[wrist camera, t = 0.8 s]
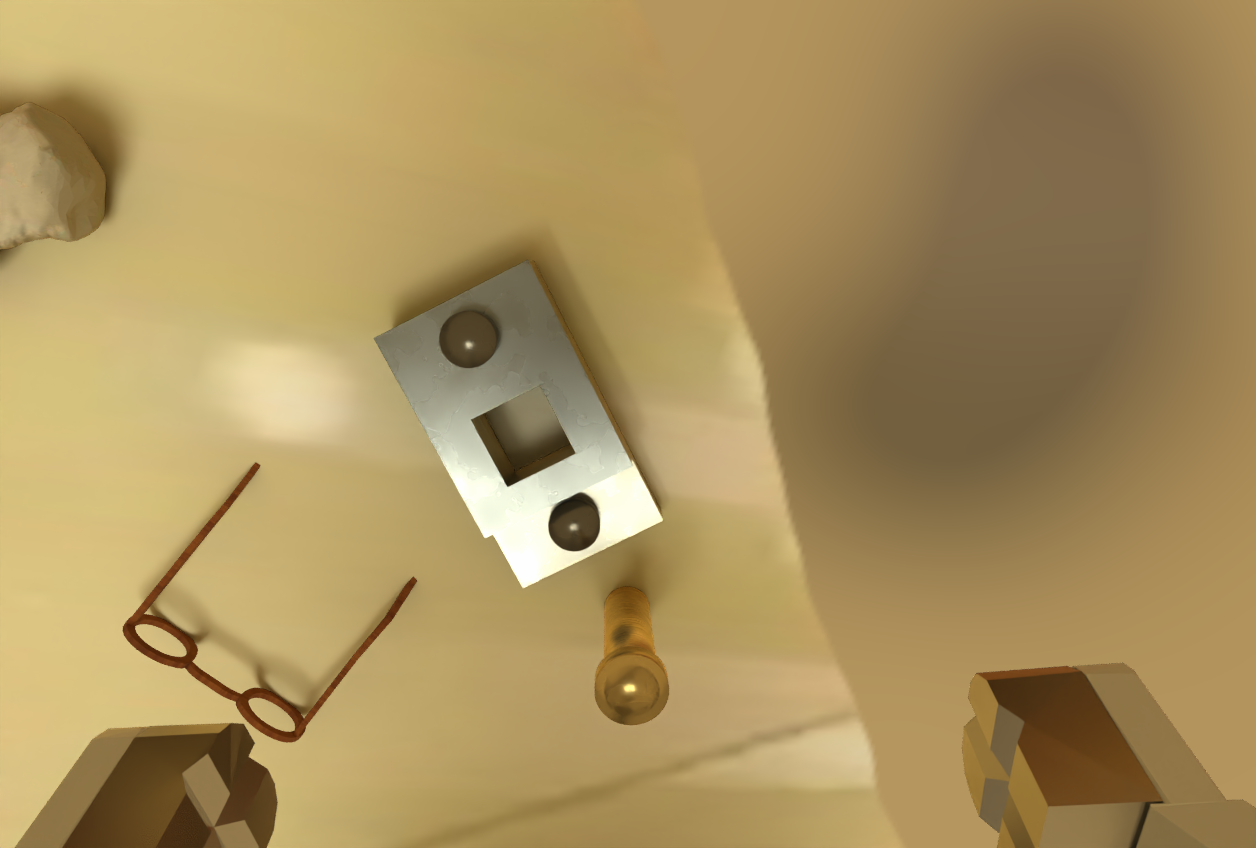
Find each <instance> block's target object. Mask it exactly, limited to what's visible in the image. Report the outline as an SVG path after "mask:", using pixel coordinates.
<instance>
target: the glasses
mask: <svg viewBox="0 0 1256 848" xmlns="http://www.w3.org/2000/svg"><path fill="white" fill-rule="evenodd" d="M259 467H260V465H259V464H257V463H255V464H254V465H253V467H252V468H251V469H250V470H249V472H248V473H247V474H246V476H245V477H244V478H243V480H242V481H241V482H240V484H239V485H238V486H237V487H236V489H235V490H234V491H233V493H232V494H231V495H230V497H229V498H228V499H227V501H226V502H225V503H224V504H223V505H222V507H221V508H220V509H219V510H218V511H217V512H216V514H215V515H214V516H213V517H212V518H211V519H210V521H209V522H208V523H207V524H206V525H205V527H204V528H203V529H202V530H201V531H200V533H199V534H198V535H197V536H196V537H195V539H194V540H193V541H192V542H191V544H190V545H189V546H188V547H187V549H186V550H185V551H184V552H183V554H182V555H181V556H180V557H179V559H178V560H177V561H176V562H175V564H174V565H173V566H172V567H171V568H170V570H169V571H168V572H167V573H166V575H165V576H164V577H163V578H162V580H161V581H160V582H159V583H158V585H157V586H156V587H155V588H154V590H153V591H152V592H151V593H150V595H149V596H148V597H147V598H146V600H145V601H144V602H143V603H142V605H141V606H140V607H139V608H138V610H137V611H136V612H135V613H134V615H133V616H132V617H130V618H129V619H128V620H127V622H126V623H125V624H124V626H123V633H124V636H125V637H126V639H127V640H128V641H129V642H130V644H131V645H132V646H134V647H135V648H136V649H137V650H138V651H140V652H141V653H143V654H144V655H146V656H147V657H149V658H151V659H153V660H155V661H157V662H159V663H162V664H164V665H168V666H171V667H175V668H186V669H187V671H188V672H189V673H190V674H191V675H192V676H193V677H195V678H196V679H197V680H199V681H200V682H202V683H203V684H205V685H206V686H208V687H209V688H211V689H212V690H214V691H215V692H217V693H218V694H220V695H221V696H223V697H225V698H227V699H230V700H233V701H236V706H237V708H238V710H239V712H240V713H241V714H242V716H243V717H244V718H245V719H246V720H247V722H249V723H250V724H251V725H252V726H253V727H254V728H256V729H257V730H259V731H260V732H262V733H263V734H265V735H267V736H269V737H271V738H273V739H275V740H278V741H282V742H295V741H297V740H298V739H299V738H300V737H301V736H302V735H303V733H304V732H305V729H306V725H307V724H308V723H309V722H310V720H311V719H312V718H313V716H314V715H315V714H316V713H317V711H318V710H319V709H320V707H321V706H322V705H323V704H324V702H325V701H326V700H327V698H328V697H329V696H330V695H331V693H332V692H333V691H334V689H335V688H336V687H337V685H338V684H339V683H340V682H341V680H342V679H343V678H344V676H345V675H346V674H347V673H348V671H349V670H350V669H351V667H352V666H353V665H354V664H355V662H356V661H357V660H358V658H359V657H360V656H361V655H362V654H363V653H364V652H365V650H366V649H367V648H368V647H369V646H370V645H371V644H372V642H373V641H374V640H375V639H376V638H377V637H378V636H379V634H380V633H381V632H382V631H383V630H384V629H385V628H386V626H387V625H388V624H389V623H390V622H391V621H392V619H393V618H394V616H395V615H396V613H397V612H398V610H399V608H400V607H401V605H402V604H403V602H404V601H405V599H406V597H407V596H408V594H409V593H410V591H411V590H412V588H413V586H414V585H415V583H416V582H417V580H416V579H415V578H414V577H413V578H412V579H411V580H410V581H409V582H408V583H407V584H406V585H405V587H404V588H403V590H402V592H401V593H400V595H399V596H398V598H397V599H396V601H395V602H394V604H393V605H392V607H391V609H390V610H389V612H388V613H387V615H386V616H385V618H384V619H383V620H382V621H381V623H380V624H379V625H378V626H377V627H376V629H375V630H374V631H373V632H372V633H371V635H370V636H369V637H368V638H367V639H366V641H365V642H364V643H363V644H362V645H361V647H360V648H359V649H358V650H357V651H356V653H355V654H354V655H353V656H352V658H351V659H350V660H349V662H348V663H347V664H346V665H345V667H344V668H343V669H342V671H341V672H340V673H339V674H338V676H337V677H336V678H335V680H334V681H333V682H332V683H331V685H330V686H329V687H328V689H327V690H326V691H325V693H324V694H323V695H322V696H321V698H320V699H319V700H318V702H317V703H316V704H315V705H314V707H313V708H312V709H311V711H310V712H309V713H308V714H307V716H306V717H305V718H303V716H302V715H301V714H300V712H299V711H298V710H297V709H296V708H295V707H293V706H292V705H290V704H289V703H287V702H286V701H284V700H283V699H281V698H280V697H278V696H277V695H275V694H274V693H272V692H271V691H268V690H265V689H262V688H252V689H249V690H247V691H245V692H244V693H242V694H240V693H237V692H235V691H233V690H231V689H230V688H228V687H226V686H225V685H223V684H222V683H220V682H219V681H217V680H216V679H214V678H213V677H211V676H210V675H208V674H207V673H205V672H204V671H203V670H201V669H200V668H199V667H198V666H196V665H195V664H194V663H193V662H192V661H193V660H194V659H195V657H196V655H197V652H198V648H197V645H196V644H195V642H194V641H193V640H192V639H191V638H190V637H189V636H188V635H186V634H185V633H183V632H182V631H180V630H179V629H177V628H176V627H174V626H173V625H171V624H170V623H168V622H167V621H165V620H164V619H161V618H159V617H156V616H153V615H147V614H144V613H145V612H146V611H147V609H148V608H149V607H150V606H151V604H152V603H153V602H154V601H155V599H156V598H157V597H158V596H159V594H160V593H161V592H162V591H163V589H164V588H165V587H166V586H167V584H168V583H169V582H170V581H171V580H172V578H173V577H174V576H175V575H176V573H177V572H178V571H179V570H180V568H181V567H182V566H183V565H184V563H185V562H186V561H187V560H188V558H189V557H190V556H191V555H192V553H193V552H194V551H195V550H196V548H197V547H198V546H199V545H200V543H201V542H202V541H203V540H204V538H205V537H206V536H207V535H208V533H209V532H210V531H211V530H212V528H213V527H214V526H215V525H216V523H217V522H218V521H219V520H220V519H221V517H222V516H223V515H224V514H225V512H226V511H227V510H228V509H229V508H230V506H231V505H232V504H233V502H234V501H235V500H236V498H237V497H238V496H239V494H240V493H241V492H242V490H243V489H244V488H245V486H246V485H247V484H248V482H249V481H250V480H251V479H252V477H253V476H254V474H255V473H256V472H257V470H258V469H259ZM139 624H149V625H153V626H156V627H159V628H161V629H163V630H165V631H167V632H169V633H170V634H172V635H173V636H174V637H176V638H177V639H178V640H179V641H180V642H181V643H182V644H183V645H184V646H185V648H186V651H187V654H186V656H184V657H174V656H170V655H167V654H164V653H162V652H160V651H158V650H156V649H154V648H153V647H151V646H150V645H148V644H147V643H145V642H144V641H143V640H142V639H141V638H140V637H139V636H138V634H137V633H136V630H135V626H136V625H139ZM252 698H262V699H266V700H268V701H270V702H272V703H274V704H276V705H277V706H279V707H280V708H282V709H283V710H284V711H285V712H286V713H288V715H289V716H290V717H291V718H292V719H293V721H294V723H295V730H294V731H292V732H285V731H281V730H278V729H275V728H273V727H271V726H270V725H268V724H266V723H265V722H264V721H262V720H261V719H260V718H259V717H257V716H256V715H255V713H254V712H253V711H252V710H251V708H250V706H249V703H248V700H249V699H252Z"/></svg>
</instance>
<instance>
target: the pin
mask: <svg viewBox="0 0 1256 848" xmlns="http://www.w3.org/2000/svg"><path fill="white" fill-rule="evenodd" d="M668 696H669V685H668V678H667V672H666V669H665V666H664V664H663V663H662V661H661V660H660V659H659V657H658V656H656V655H655V648H654V640H653V633H652V625H651V617H650V609H649V602H648V600H647V598H646V596H645V595H644V593H642V592H641V591H640V590H638V589H636V588H634V587H621V588H618V589H616V590H614V591H613V592H612V593H610V595H609V596H608V597H607V599H606V602H605V612H604V659H603V660H602V661H601V662H600V664H599V666H598V668H597V671H596V675H595V699H596V702H597V704H598V706H599V708H600V710H601V711H602V712H603V713H604V714H605V715H606V716H607V717H608V718H610V719H611V720H613V721H615V722H617V723H620V724H624V725H638V724H642V723H645V722H648V721H650V720H652V719H653V718H655V717H656V716H657V715H658V714H659V713H660V712H661V711H662V710H663V708H664V707H665V705H666V703H667V700H668Z"/></svg>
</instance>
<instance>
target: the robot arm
mask: <svg viewBox="0 0 1256 848" xmlns="http://www.w3.org/2000/svg"><path fill="white" fill-rule="evenodd" d="M968 699H969V701H970V704H971V706H972V708H973V711H974V713H975V715H976V716H975V717H974V718H973V719H971V720H970V721H969V722H968V723H967V724H966V725H965V726H964V731H963V741H962V753H963V762H964V771H965V776H966V779H967V783H968V787H969V791H970V794H971V797H972V799H973V802H974V805H975V807H976V810H977V813H978V815H979V817H980V818H981V819H983V820H984V821H985V822H986V823H987V824H988V825H990V826H991V827H992V828H993V829H995V830H996V831H997V832H998V833H999V840H998V845H997V848H1256V808H1255V807H1254V806H1252V805H1251V804H1249V803H1248V802H1246V801H1244V800H1226V799H1225V797H1224V796H1223V794H1222V793H1221V792H1220V790H1219V789H1218V787H1217V786H1216V785H1215V783H1214V782H1213V780H1212V779H1211V777H1210V776H1209V775H1208V773H1207V772H1206V770H1205V769H1204V768H1203V766H1202V765H1201V763H1200V762H1199V761H1198V759H1197V758H1196V756H1195V755H1194V754H1193V752H1192V751H1191V749H1190V748H1189V747H1188V745H1187V744H1186V742H1185V741H1184V740H1183V738H1182V737H1181V736H1180V734H1179V733H1178V731H1177V730H1176V728H1175V727H1174V726H1173V724H1172V723H1171V721H1170V720H1169V719H1168V717H1167V716H1166V714H1165V713H1164V712H1163V710H1162V709H1161V708H1160V706H1159V705H1158V703H1157V702H1156V700H1155V699H1154V698H1153V696H1152V695H1151V694H1150V692H1149V691H1148V689H1147V688H1146V686H1145V685H1144V684H1143V682H1142V681H1141V679H1140V678H1139V677H1138V675H1137V674H1136V672H1135V671H1134V670H1133V669H1132V668H1130V667H1129V666H1127V665H1126V664H1124V663H1111V664H1097V665H1083V666H1073V667H1068V666H1060V667H1048V668H1035V669H1022V670H1009V671H996V672H983V673H976V674H975V676H974V677H973V678H972V680H971V682H970V688H969V695H968ZM254 744H255V743H254V741H253V739H252V737H251V736H250V734H249V732H248V730H247V729H246V727H245V725H244V724H237V723H222V724H196V725H169V726H149V727H132V728H111V729H107V730H106V731H104V732H103V733H101V734H100V735H98V736H97V737H95V738H94V739H92V741H91V742H90V743H89V745H88V746H87V747H86V749H85V750H84V752H83V753H82V754H81V756H80V757H79V759H78V760H77V761H76V763H75V764H74V766H73V767H72V768H71V770H70V771H69V773H68V774H67V775H66V777H65V778H64V780H63V781H62V782H61V784H60V785H59V787H58V788H57V789H56V791H55V792H54V794H53V795H52V796H51V798H50V799H49V801H48V802H47V803H46V805H45V806H44V808H43V809H42V810H41V812H40V813H39V815H38V816H37V817H36V819H35V820H34V822H33V823H32V824H31V826H30V827H29V828H28V830H27V831H26V833H25V834H24V835H23V837H22V838H21V840H20V841H19V842H18V844H17V845H16V847H15V848H267V846H268V843H269V841H270V838H271V836H272V833H273V831H274V824H275V817H276V810H277V803H278V802H277V796H276V789H275V783H274V781H273V779H272V777H271V775H270V773H269V771H268V769H267V768H265V767H264V766H262V765H261V764H259V763H257V762H256V761H254V760H253V759H251V758H250V757H248V756H249V754H250V752H251V750H252V748H253V746H254Z"/></svg>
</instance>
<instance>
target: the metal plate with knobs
mask: <svg viewBox="0 0 1256 848" xmlns="http://www.w3.org/2000/svg"><path fill="white" fill-rule="evenodd" d="M374 340H375V341H376V343H377V345H378V347H379V349H380V350H381V352H382V354H383V356H384V358H385V359H386V361H387V363H388V365H389V367H390V368H391V370H392V372H393V374H394V376H395V377H396V379H397V381H398V383H399V385H400V386H401V388H402V390H403V392H404V394H405V395H406V397H407V399H408V401H409V403H410V404H411V406H412V408H413V410H414V412H415V413H416V415H417V417H418V419H419V421H420V422H421V424H422V426H423V428H424V430H425V431H426V433H427V435H428V437H429V439H430V440H431V442H432V444H433V446H434V448H435V449H436V451H437V453H438V455H439V457H440V458H441V460H442V462H443V464H444V466H445V467H446V469H447V471H448V473H449V475H450V476H451V478H452V480H453V482H454V484H455V485H456V487H457V489H458V491H459V493H460V494H461V496H462V498H463V500H464V502H465V503H466V505H467V507H468V509H469V511H470V512H471V514H472V516H473V518H474V520H475V521H476V523H477V525H478V527H479V529H480V530H481V532H482V534H483V536H484V538H487V537H489V536H491V535H494V537H495V539H496V541H497V542H498V544H499V546H500V548H501V550H502V551H503V553H504V555H505V557H506V559H507V560H508V562H509V564H510V566H511V568H512V569H513V571H514V573H515V575H516V577H517V579H518V580H519V582H520V584H521V586H522V588H525V587H527V586H529V585H531V584H533V583H535V582H537V581H539V580H541V579H543V578H545V577H547V576H549V575H552V574H554V573H556V572H558V571H560V570H562V569H564V568H566V567H568V566H570V565H572V564H574V563H576V562H579V561H581V560H583V559H585V558H587V557H589V556H591V555H593V554H595V553H597V552H599V551H601V550H603V549H605V548H608V547H610V546H612V545H614V544H616V543H618V542H620V541H622V540H624V539H626V538H628V537H630V536H632V535H635V534H637V533H639V532H641V531H643V530H645V529H647V528H649V527H651V526H653V525H655V524H657V523H659V522H661V521H663V517H662V512H661V510H660V508H659V506H658V504H657V502H656V500H655V498H654V496H653V494H652V492H651V490H650V488H649V486H648V484H647V482H646V480H645V478H644V476H643V474H642V472H641V470H640V468H639V467H638V465H637V463H636V461H635V459H634V457H633V455H632V453H631V451H630V449H629V447H628V445H627V443H626V441H625V439H624V437H623V435H622V433H621V431H620V429H619V427H618V425H617V423H616V421H615V419H614V417H613V415H612V413H611V411H610V409H609V407H608V405H607V403H606V401H605V399H604V397H603V396H602V394H601V392H600V390H599V388H598V386H597V384H596V382H595V380H594V378H593V376H592V374H591V372H590V370H589V368H588V366H587V364H586V362H585V360H584V358H583V356H582V354H581V352H580V350H579V348H578V346H577V344H576V342H575V340H574V338H573V336H572V334H571V332H570V330H569V328H568V327H567V325H566V323H565V321H564V319H563V317H562V315H561V313H560V311H559V309H558V307H557V305H556V303H555V301H554V299H553V297H552V295H551V293H550V291H549V289H548V287H547V285H546V283H545V281H544V279H543V277H542V275H541V273H540V271H539V269H538V267H537V265H536V263H535V261H532V260H526V261H524V262H522V263H520V264H519V265H517V266H515V267H513V268H511V269H509V270H507V271H505V272H503V273H501V274H499V275H497V276H495V277H493V278H491V279H489V280H487V281H485V282H483V283H481V284H479V285H477V286H475V287H473V288H471V289H469V290H467V291H465V292H463V293H462V294H460V295H458V296H456V297H454V298H452V299H450V300H448V301H446V302H444V303H442V304H440V305H438V306H436V307H434V308H432V309H430V310H428V311H426V312H424V313H422V314H420V315H418V316H416V317H414V318H412V319H410V320H408V321H406V322H405V323H403V324H401V325H399V326H397V327H395V328H393V329H391V330H389V331H387V332H385V333H383V334H381V335H379V336H377V337H375V338H374ZM538 386H541V388H542V390H543V392H544V393H545V395H546V397H547V399H548V401H549V403H550V405H551V407H552V409H553V411H554V413H555V415H556V417H557V418H558V420H559V422H560V424H561V426H562V428H563V430H564V432H565V434H566V436H567V438H568V440H569V441H570V443H571V444H569V445H567V446H565V447H563V448H561V449H559V450H557V451H555V452H553V453H551V454H549V455H547V456H545V457H543V458H541V459H539V460H537V461H535V462H533V463H531V464H529V465H527V466H525V467H523V468H521V469H519V470H517V471H514V469H513V467H512V465H511V463H510V461H509V460H508V458H507V456H506V454H505V452H504V450H503V448H502V447H501V445H500V443H499V441H498V439H497V437H496V435H495V434H494V432H493V430H492V428H491V426H490V424H489V422H488V421H487V419H486V417H485V415H484V413H485V412H487V411H489V410H492V409H494V408H496V407H498V406H500V405H502V404H504V403H506V402H508V401H510V400H512V399H514V398H516V397H518V396H520V395H522V394H524V393H526V392H528V391H530V390H532V389H534V388H536V387H538Z"/></svg>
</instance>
